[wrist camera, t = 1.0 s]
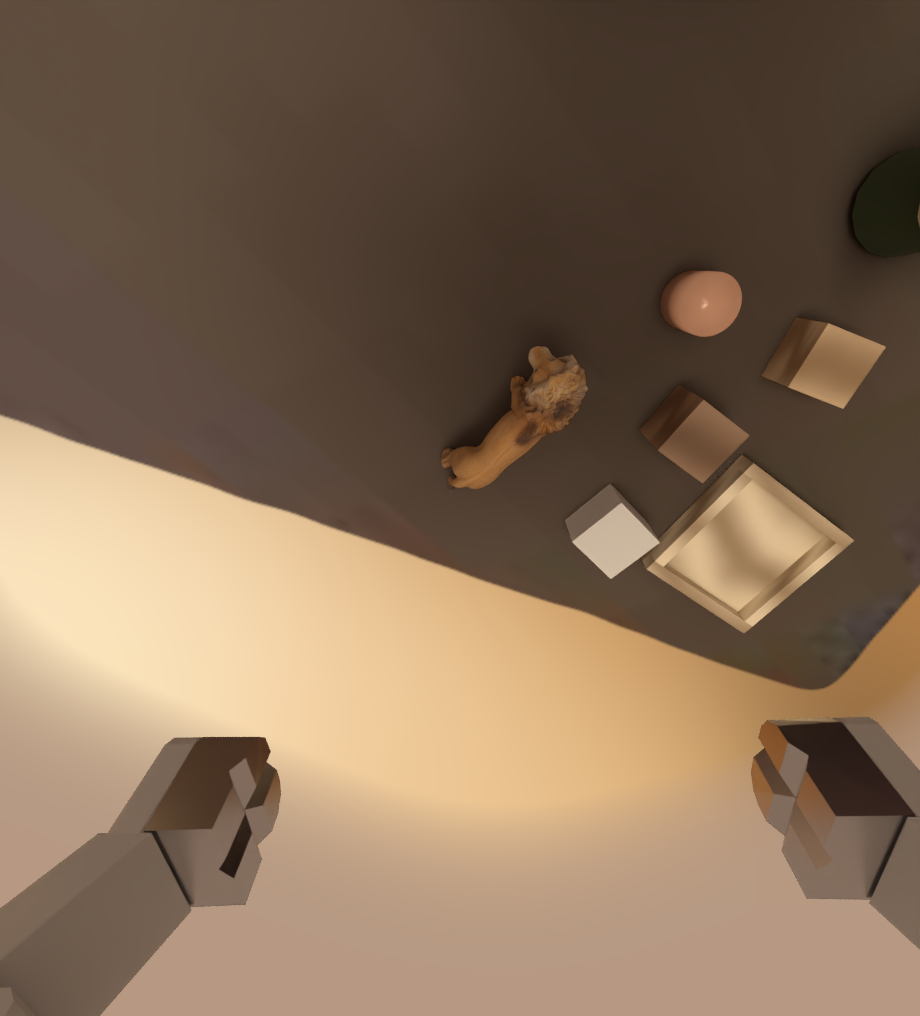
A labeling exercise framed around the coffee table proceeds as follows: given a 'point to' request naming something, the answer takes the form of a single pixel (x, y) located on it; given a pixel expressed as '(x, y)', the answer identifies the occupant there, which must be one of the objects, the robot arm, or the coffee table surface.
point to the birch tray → (744, 546)
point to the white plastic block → (610, 531)
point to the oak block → (822, 361)
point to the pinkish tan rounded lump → (701, 302)
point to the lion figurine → (522, 419)
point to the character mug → (890, 207)
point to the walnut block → (692, 433)
